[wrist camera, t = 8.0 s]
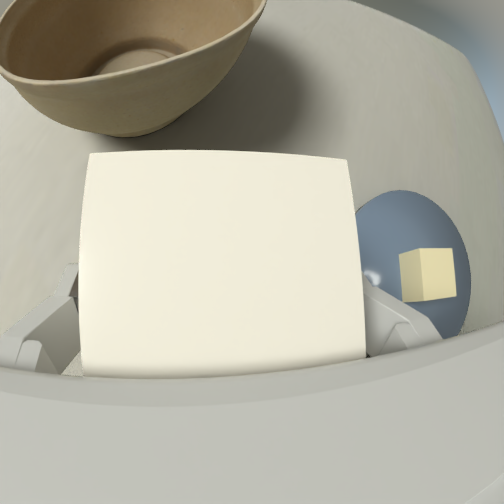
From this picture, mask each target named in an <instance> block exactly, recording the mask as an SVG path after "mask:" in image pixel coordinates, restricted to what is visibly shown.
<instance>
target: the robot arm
mask: <svg viewBox="0 0 504 504" xmlns="http://www.w3.org/2000/svg"><path fill="white" fill-rule="evenodd" d="M361 273H362V285H363V299H364V317H365V341H366V353H367V354H369V355H370V356H371V357H370V358H365V359H360V360H355V361H349V362H343V363H338V364H332V365H325V366H319V367H312V368H305V369H298V370H290V371H282V372H273V373H263V374H253V375H241V376H228V377H211V378H187V379H121V378H99V377H83V376H70V375H61V374H62V372H63V371H64V370H65V369H66V367H67V366H68V365H69V364H70V362H71V361H72V360H73V359H74V357H75V356H76V355H77V354H78V353H79V351H80V350H81V345H80V329H79V297H78V279H79V263H69V264H68V265H67V266H66V268H65V270H64V272H63V274H62V277H61V279H60V281H59V284H58V286H57V288H56V291H55V293H54V296H49V297H48V298H47V299H45V300H44V301H43V302H41V303H40V304H39V305H38V306H36V307H35V308H34V309H33V310H31V311H30V312H29V313H28V314H26V315H25V316H24V317H23V318H21V319H20V320H19V321H18V322H17V323H15V324H14V325H13V326H12V327H10V328H9V329H8V330H7V331H6V332H5V333H3V334H2V335H1V336H0V504H504V321H501V322H498V323H495V324H492V325H490V326H487V327H484V328H481V329H478V330H474V331H471V332H468V333H465V334H462V335H458V336H455V337H452V338H448V339H445V340H443V338H442V337H441V336H440V334H439V333H438V331H437V330H436V328H435V327H434V325H433V324H432V322H431V321H430V319H429V318H428V317H426V316H425V315H423V314H422V313H420V312H418V311H417V310H415V309H413V308H412V307H410V306H408V305H407V304H405V303H403V302H402V301H400V300H398V299H396V298H395V297H393V296H391V295H390V294H388V293H386V292H385V291H383V290H381V289H380V288H378V287H372V285H371V284H370V282H369V281H368V279H367V278H366V276H365V275H364V273H363V272H362V271H361Z"/></svg>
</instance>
